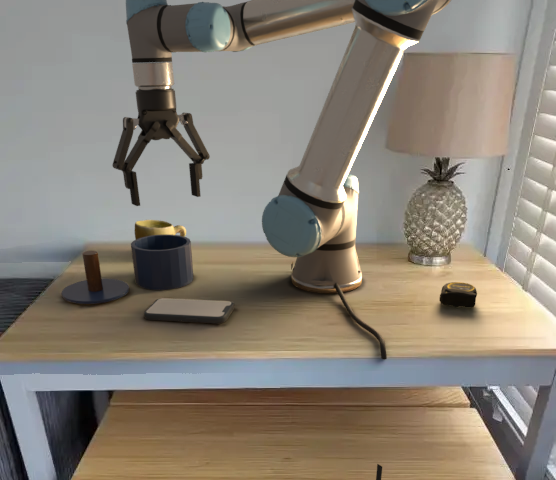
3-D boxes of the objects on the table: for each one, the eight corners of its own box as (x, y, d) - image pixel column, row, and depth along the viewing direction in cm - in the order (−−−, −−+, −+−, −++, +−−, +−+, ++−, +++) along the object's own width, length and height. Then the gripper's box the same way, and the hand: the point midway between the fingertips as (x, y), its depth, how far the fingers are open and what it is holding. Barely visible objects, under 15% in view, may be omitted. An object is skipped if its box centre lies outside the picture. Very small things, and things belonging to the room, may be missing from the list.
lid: (139, 297, 126) (134, 255, 122) (73, 312, 119) (66, 267, 115) (116, 279, 136) (110, 239, 132) (54, 291, 129) (46, 250, 125)
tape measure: (437, 308, 120) (439, 290, 118) (442, 296, 125) (444, 279, 124) (473, 313, 118) (476, 295, 116) (476, 300, 123) (479, 283, 122)
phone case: (142, 321, 116) (224, 326, 113) (141, 313, 115) (223, 317, 112) (159, 304, 123) (236, 308, 120) (158, 296, 123) (235, 300, 120)
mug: (126, 256, 144) (133, 213, 143) (134, 256, 154) (140, 217, 153) (178, 265, 145) (185, 223, 144) (182, 265, 155) (189, 226, 154)
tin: (203, 282, 134) (200, 244, 130) (149, 294, 128) (144, 254, 124) (178, 267, 143) (175, 231, 139) (127, 277, 137) (122, 240, 133)
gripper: (203, 84, 126) (211, 189, 136) (84, 90, 114) (102, 205, 124) (221, 85, 121) (227, 194, 131) (98, 92, 109) (115, 212, 119)
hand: (166, 200), depth 127 cm, fingers open, 13 cm apart
